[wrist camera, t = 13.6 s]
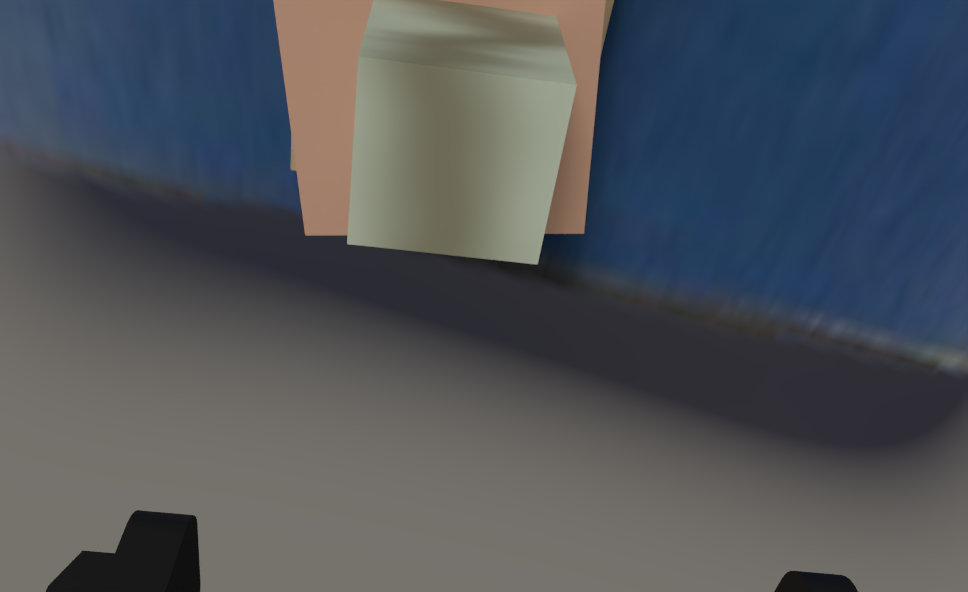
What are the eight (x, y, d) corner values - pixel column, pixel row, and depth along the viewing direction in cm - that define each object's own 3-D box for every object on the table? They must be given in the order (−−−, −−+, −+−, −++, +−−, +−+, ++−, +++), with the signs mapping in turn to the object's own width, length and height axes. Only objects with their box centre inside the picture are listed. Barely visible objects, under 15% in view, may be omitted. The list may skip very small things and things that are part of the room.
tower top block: (593, -90, 28) (611, -60, 25) (571, 180, 34) (584, 233, 30) (287, -91, 27) (265, -61, 24) (320, 181, 33) (305, 235, 30)
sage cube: (556, 16, 26) (576, 85, 21) (525, 175, 29) (537, 264, 24) (376, -10, 25) (358, 56, 21) (364, 156, 28) (347, 244, 24)
